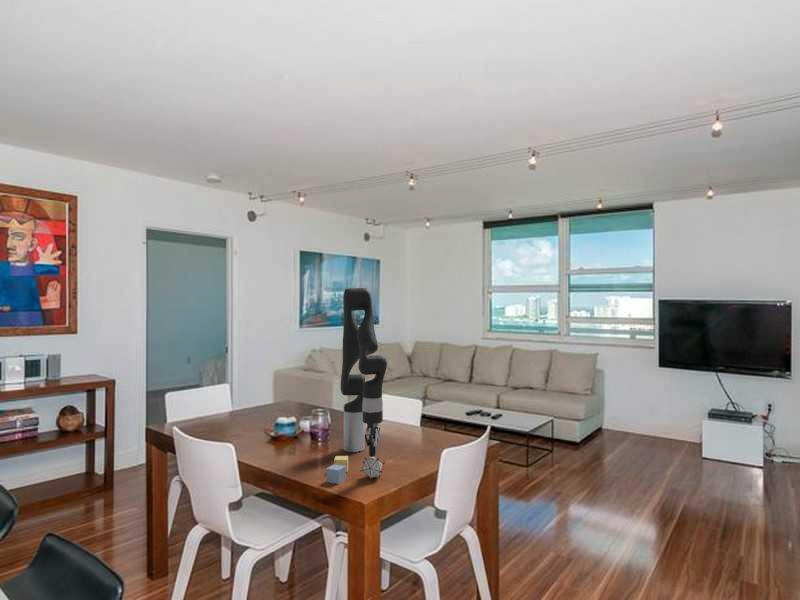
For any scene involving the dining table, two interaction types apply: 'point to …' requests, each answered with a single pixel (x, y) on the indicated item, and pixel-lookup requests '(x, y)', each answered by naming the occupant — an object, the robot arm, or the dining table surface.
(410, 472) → the dining table surface
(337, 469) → the slate block
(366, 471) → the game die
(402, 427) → the dining table surface
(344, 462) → the ochre block
